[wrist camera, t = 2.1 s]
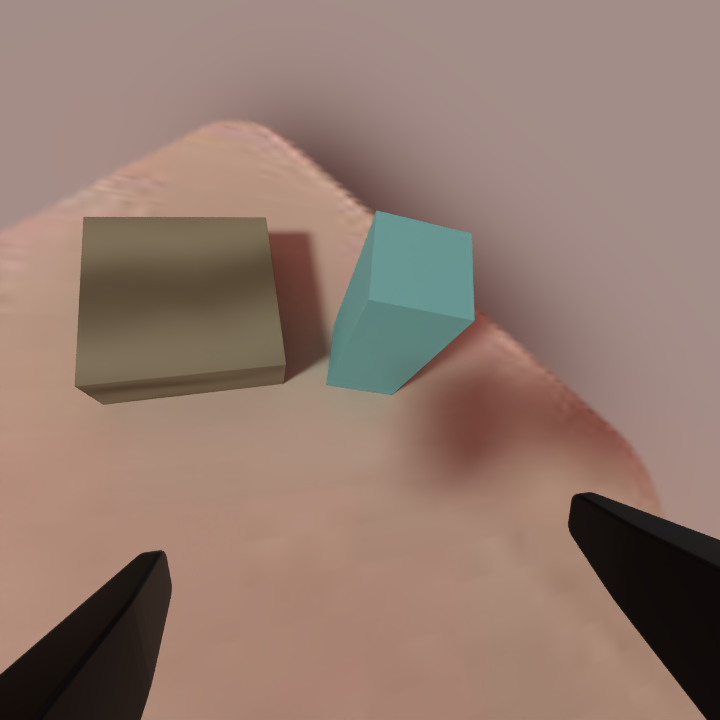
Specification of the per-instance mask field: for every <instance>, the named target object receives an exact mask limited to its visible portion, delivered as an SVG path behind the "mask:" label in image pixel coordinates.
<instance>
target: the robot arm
mask: <svg viewBox="0 0 720 720" xmlns="http://www.w3.org/2000/svg"><path fill="white" fill-rule="evenodd" d="M568 527H569V531H570V533H571V535H572V537H573V539H574V540H575V542H576V543H577V545H578V546H579V548H580V549H581V551H582V552H583V554H584V555H585V557H586V558H587V560H588V562H589V563H590V565H591V566H592V568H593V569H594V571H595V572H596V574H597V575H598V577H599V578H600V580H601V581H602V583H603V584H604V586H605V587H606V589H607V590H608V592H609V593H610V595H611V596H612V598H613V599H614V600H615V602H616V603H617V605H618V606H619V607H620V609H621V610H622V611H623V612H624V614H625V615H626V616H627V618H628V619H629V620H630V621H631V623H632V624H633V625H634V627H635V628H636V629H637V631H638V632H639V633H640V634H641V636H642V637H643V638H644V640H645V641H646V642H647V643H648V645H649V646H650V647H651V649H652V650H653V651H654V652H655V654H656V655H657V656H658V658H659V659H660V660H661V661H662V663H663V664H664V665H665V667H666V668H667V669H668V671H669V672H670V673H671V674H672V676H673V677H674V678H675V680H676V681H677V682H678V683H679V685H680V686H681V687H682V689H683V690H684V691H685V692H686V694H687V695H688V696H689V698H690V699H691V700H692V701H693V703H694V704H695V705H696V707H697V708H698V709H699V710H700V712H701V713H702V714H703V716H704V717H705V718H706V720H720V540H718V539H716V538H713V537H710V536H708V535H705V534H702V533H700V532H697V531H694V530H692V529H689V528H686V527H684V526H681V525H678V524H675V523H673V522H670V521H668V520H665V519H662V518H660V517H657V516H654V515H651V514H649V513H646V512H643V511H641V510H638V509H635V508H633V507H630V506H627V505H625V504H622V503H619V502H617V501H614V500H611V499H609V498H606V497H603V496H601V495H598V494H595V493H592V492H587V493H579V494H575V495H574V496H573V497H572V500H571V507H570V514H569V521H568ZM171 592H172V583H171V578H170V572H169V567H168V562H167V557H166V554H165V552H164V551H162V550H158V551H151V552H144V553H141V554H140V555H138V556H137V557H136V558H135V559H134V560H132V561H131V562H130V563H129V564H128V565H127V566H125V567H124V568H123V569H122V570H121V571H120V572H118V573H117V574H116V575H115V576H114V577H113V578H111V579H110V580H109V581H108V582H107V583H106V584H105V585H103V586H102V587H101V588H100V589H99V590H98V591H96V592H95V593H94V594H93V595H92V596H91V597H89V598H88V599H87V600H86V601H85V602H84V603H82V604H81V605H80V606H79V607H78V608H77V609H76V610H74V611H73V612H72V613H71V614H70V615H69V616H67V617H66V618H65V619H64V620H63V621H62V622H60V623H59V624H58V625H57V626H56V627H55V628H54V629H52V630H51V631H50V632H49V633H48V634H47V635H45V636H44V637H43V638H42V639H41V640H40V641H38V642H37V643H36V644H35V645H34V646H33V647H31V648H30V649H29V650H28V651H27V652H26V653H25V654H23V655H22V656H21V657H20V658H19V659H18V660H16V661H15V662H14V663H13V664H12V665H11V666H9V667H8V668H7V669H6V670H5V671H4V672H3V673H1V674H0V720H141V717H142V714H143V711H144V708H145V705H146V701H147V698H148V695H149V691H150V688H151V684H152V680H153V676H154V672H155V667H156V663H157V658H158V654H159V649H160V645H161V640H162V635H163V631H164V626H165V622H166V617H167V613H168V608H169V603H170V599H171Z"/></svg>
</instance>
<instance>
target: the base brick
mask: <svg viewBox="0 0 720 720" xmlns="http://www.w3.org/2000/svg"><path fill="white" fill-rule="evenodd" d="M285 369H286V360H285V353H284V346H283V338H282V331H281V324H280V316H279V309H278V302H277V294H276V287H275V280H274V273H273V265H272V258H271V251H270V243H269V236H268V229H267V221H266V218H235V217H84V219H83V238H82V257H81V277H80V296H79V315H78V334H77V354H76V373H75V387H77V388H78V389H80V390H81V391H83V392H84V393H86V394H87V395H89V396H91V397H92V398H94V399H95V400H97V401H98V402H100V403H101V404H103V405H104V404H113V403H121V402H130V401H139V400H147V399H156V398H164V397H173V396H182V395H190V394H199V393H208V392H216V391H225V390H233V389H242V388H251V387H259V386H268V385H277V384H283V383H284V376H285Z"/></svg>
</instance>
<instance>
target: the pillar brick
mask: <svg viewBox="0 0 720 720" xmlns="http://www.w3.org/2000/svg"><path fill="white" fill-rule="evenodd" d="M472 258H473V256H472V234H471V233H467V232H462V231H459V230H454V229H450V228H446V227H442V226H438V225H434V224H430V223H426V222H421V221H418V220H413V219H409V218H405V217H401V216H396V215H393V214H389V213H385V212H380V211H376V214H375V216H374V219H373V222H372V224H371V227H370V230H369V232H368V235H367V238H366V240H365V243H364V246H363V249H362V251H361V254H360V257H359V259H358V262H357V265H356V267H355V270H354V273H353V275H352V278H351V281H350V283H349V286H348V289H347V291H346V294H345V297H344V299H343V302H342V305H341V307H340V310H339V313H338V315H337V318H336V321H335V323H334V329H333V337H332V345H331V353H330V361H329V369H328V377H327V385H330V386H336V387H343V388H349V389H356V390H362V391H369V392H375V393H382V394H388V395H392V394H393V393H395V392H396V391H397V390H398V389H399V388H400V387H401V386H402V385H404V384H405V383H406V382H407V381H408V380H409V379H410V378H411V377H412V376H414V375H415V374H416V373H417V372H418V371H419V370H420V369H421V368H422V367H424V366H425V365H426V364H427V363H428V362H429V361H430V360H431V359H433V358H434V357H435V356H436V355H437V354H438V353H439V352H440V351H441V350H443V349H444V348H445V347H446V346H447V345H448V344H449V343H450V342H451V341H453V340H454V339H455V338H456V337H457V336H458V335H459V334H460V333H461V332H463V331H464V330H465V329H466V328H467V327H468V326H469V325H470V324H472V323H473V322H474V321H475V314H474V285H473V259H472Z"/></svg>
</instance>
